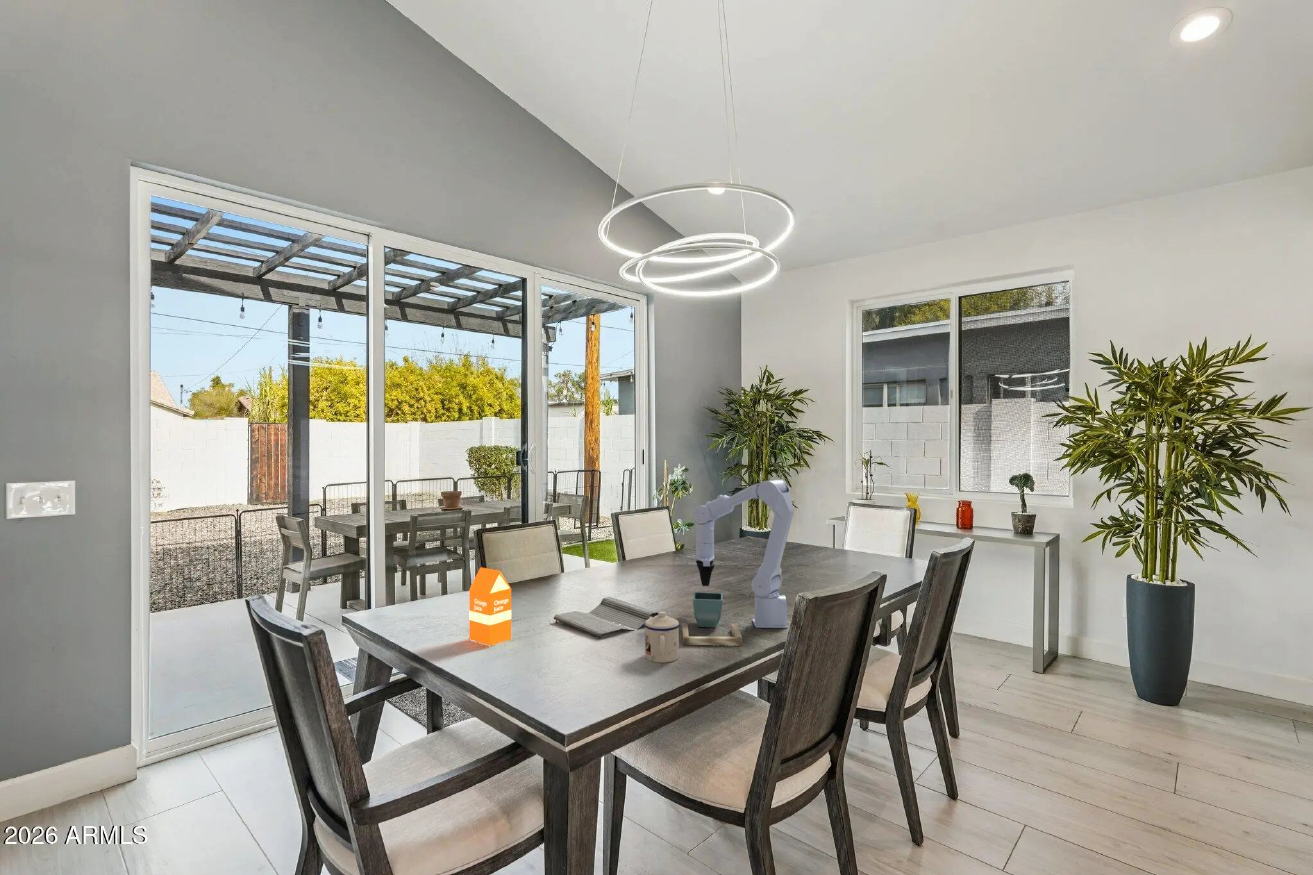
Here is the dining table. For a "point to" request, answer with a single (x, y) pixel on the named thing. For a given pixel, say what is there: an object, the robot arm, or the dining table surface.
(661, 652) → the teacup with lid
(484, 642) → the orange juice
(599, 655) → the dining table surface
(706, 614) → the flower pot
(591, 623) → the mat
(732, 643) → the cream wooden frame
